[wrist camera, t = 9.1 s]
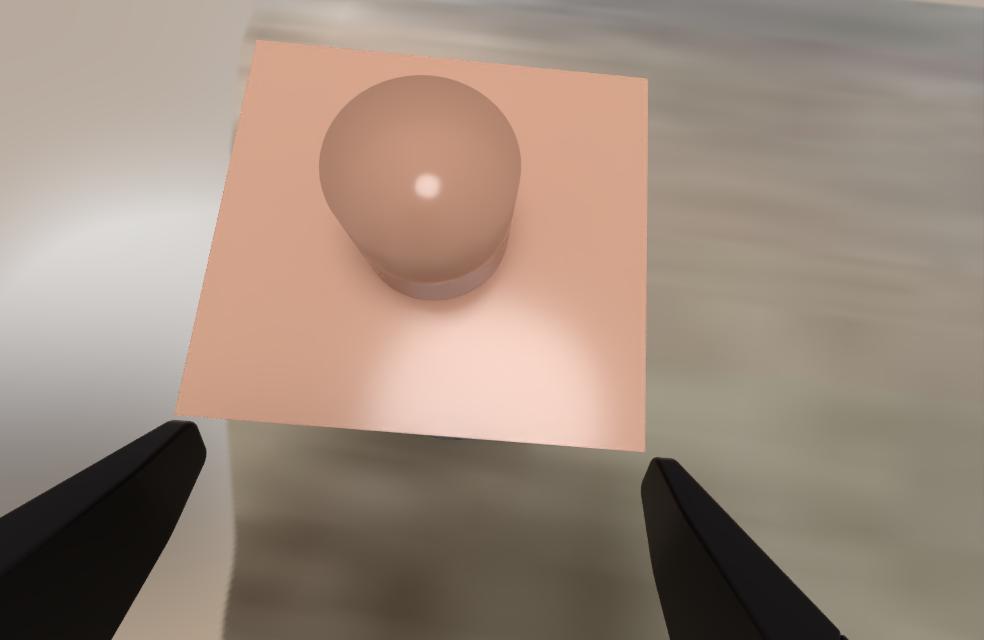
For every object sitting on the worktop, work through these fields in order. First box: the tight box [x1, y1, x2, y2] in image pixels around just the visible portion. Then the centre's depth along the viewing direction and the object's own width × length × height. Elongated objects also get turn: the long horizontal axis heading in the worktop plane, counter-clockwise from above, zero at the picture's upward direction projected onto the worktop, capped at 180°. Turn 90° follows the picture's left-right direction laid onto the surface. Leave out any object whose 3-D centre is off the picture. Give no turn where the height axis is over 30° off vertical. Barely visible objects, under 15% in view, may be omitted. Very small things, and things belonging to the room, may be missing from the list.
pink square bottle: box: [174, 40, 648, 452], centre depth 11 cm, size 6×7×13 cm
